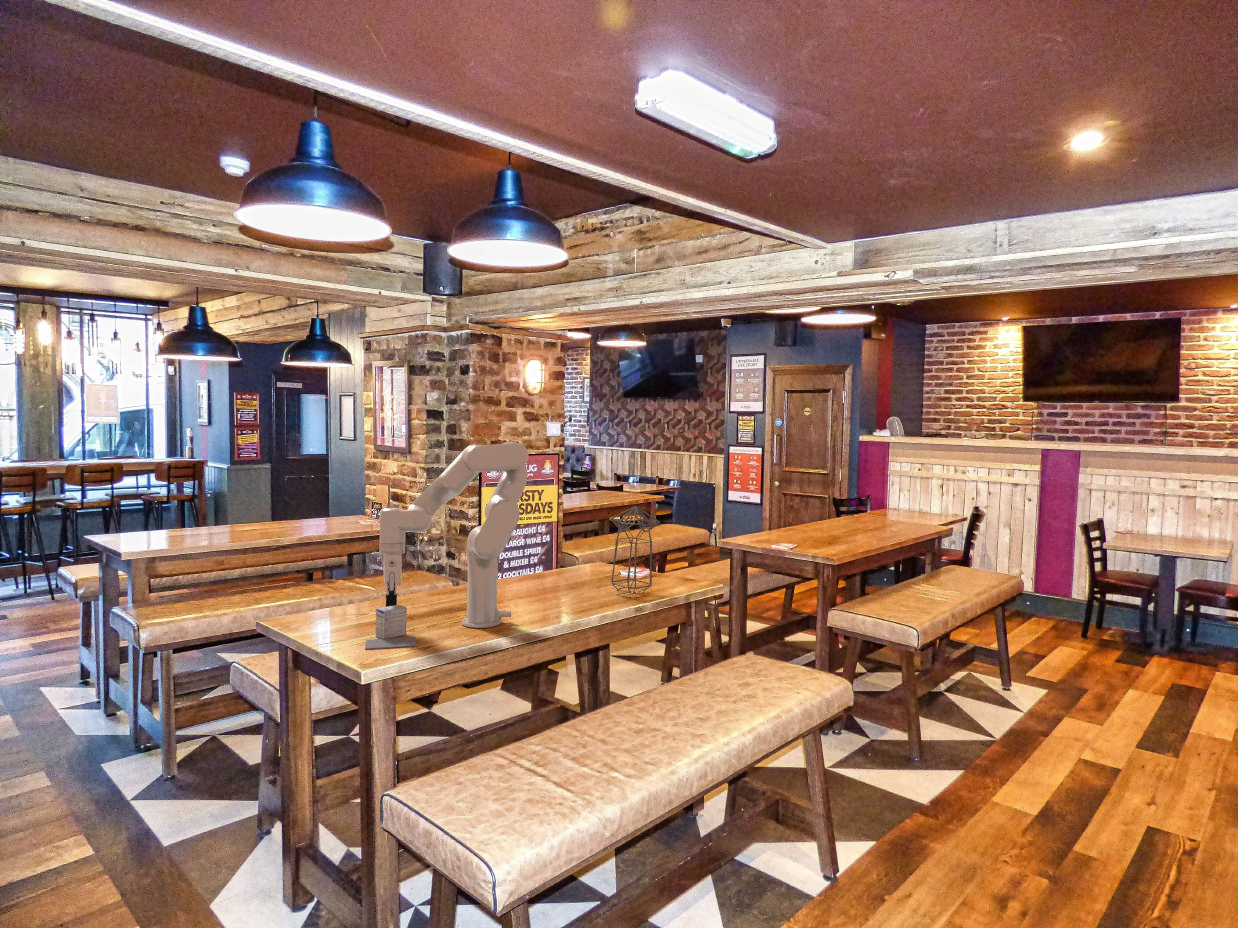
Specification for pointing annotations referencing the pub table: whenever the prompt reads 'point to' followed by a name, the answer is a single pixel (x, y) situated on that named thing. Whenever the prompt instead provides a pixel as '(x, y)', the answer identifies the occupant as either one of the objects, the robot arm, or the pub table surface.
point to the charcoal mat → (390, 643)
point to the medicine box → (391, 621)
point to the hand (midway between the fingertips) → (391, 606)
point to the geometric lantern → (638, 511)
